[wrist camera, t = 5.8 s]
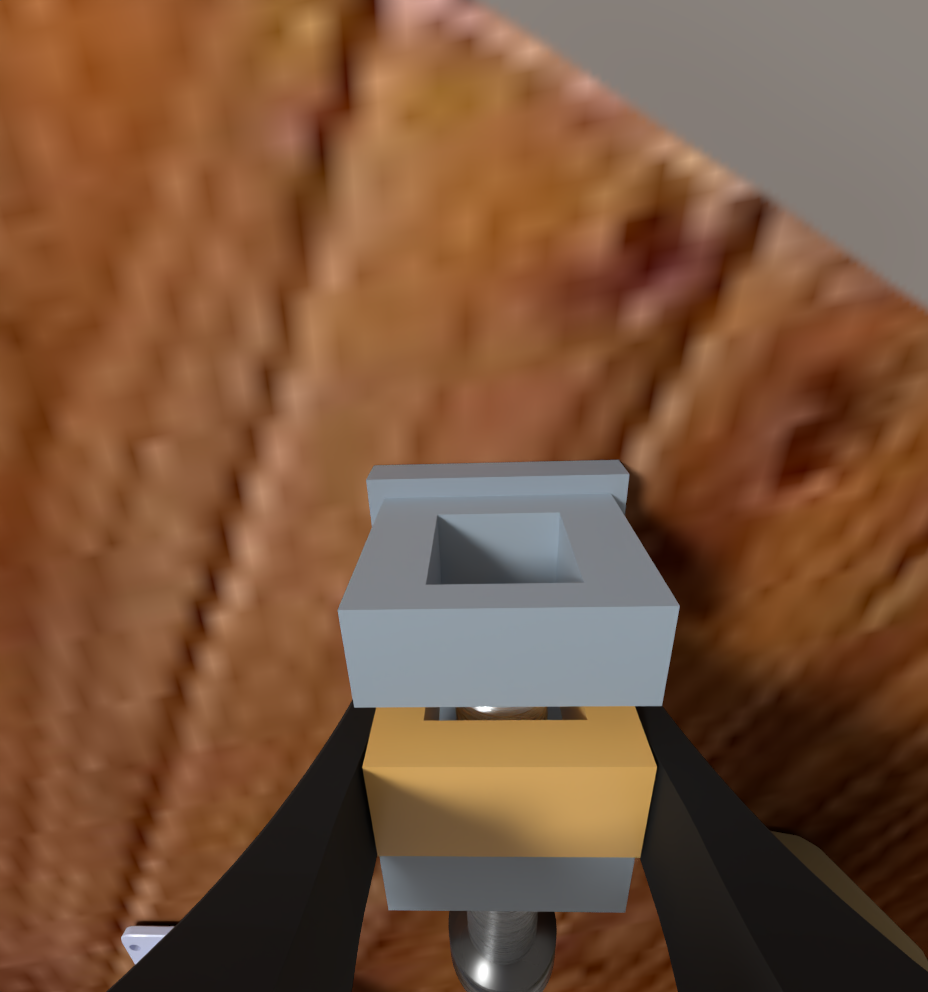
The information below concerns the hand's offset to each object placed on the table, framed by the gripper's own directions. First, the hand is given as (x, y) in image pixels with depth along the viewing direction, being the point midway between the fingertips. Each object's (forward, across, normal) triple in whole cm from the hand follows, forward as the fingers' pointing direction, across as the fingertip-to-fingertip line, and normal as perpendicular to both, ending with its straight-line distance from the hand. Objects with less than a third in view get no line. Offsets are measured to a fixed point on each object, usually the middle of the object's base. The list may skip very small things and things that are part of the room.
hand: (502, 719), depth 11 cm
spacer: (+2, 0, 0) cm, 2 cm away
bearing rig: (+4, 0, 0) cm, 4 cm away
